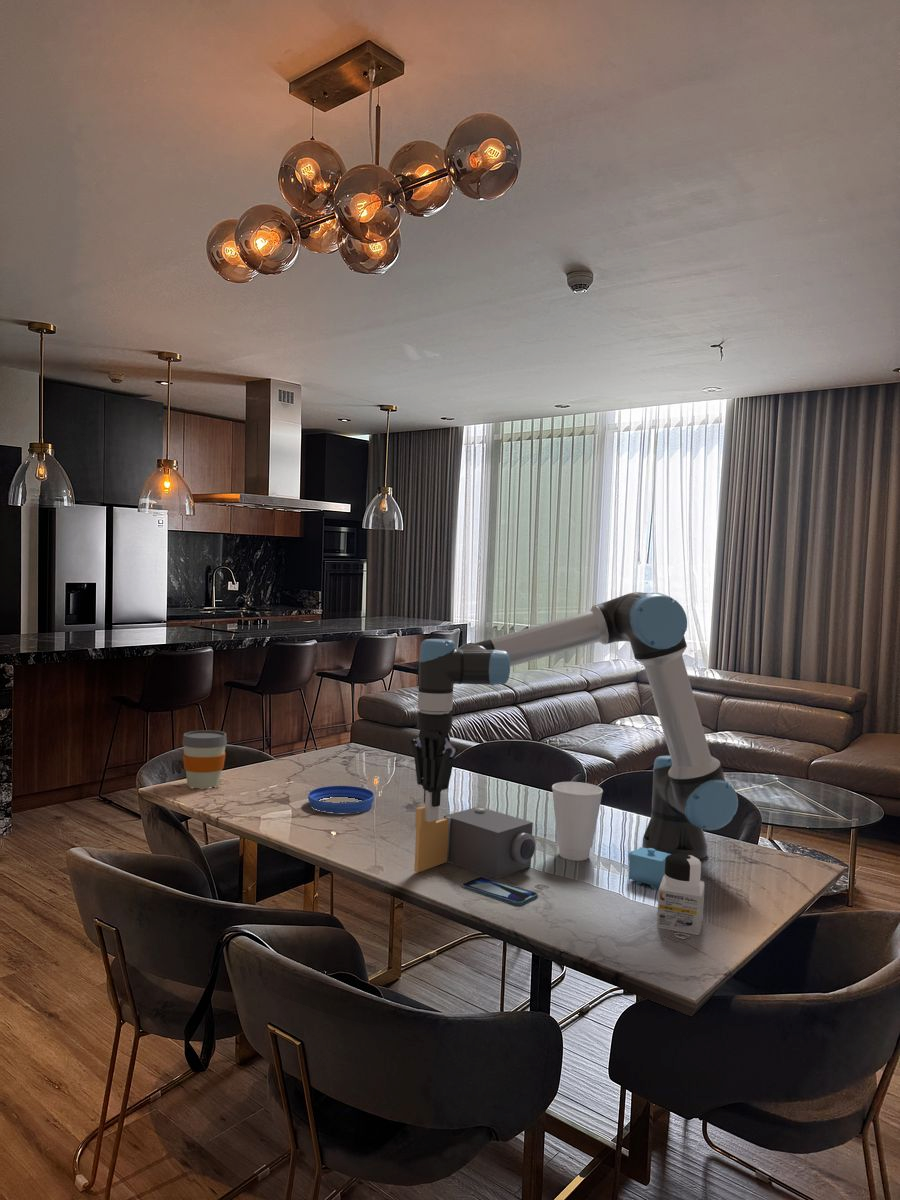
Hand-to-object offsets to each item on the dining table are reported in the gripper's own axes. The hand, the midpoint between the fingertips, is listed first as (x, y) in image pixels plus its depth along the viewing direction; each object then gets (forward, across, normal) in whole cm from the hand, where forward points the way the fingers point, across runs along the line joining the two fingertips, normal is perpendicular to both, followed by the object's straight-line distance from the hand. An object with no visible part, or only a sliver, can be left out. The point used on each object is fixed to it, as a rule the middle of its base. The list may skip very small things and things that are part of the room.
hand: (431, 820), depth 179 cm
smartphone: (+12, -16, -5) cm, 21 cm away
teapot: (+12, -34, -35) cm, 50 cm away
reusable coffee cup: (+11, +93, +6) cm, 94 cm away
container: (+12, -48, -21) cm, 54 cm away
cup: (+12, -11, -35) cm, 39 cm away
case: (+12, -4, -14) cm, 19 cm away
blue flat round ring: (+12, +53, -14) cm, 56 cm away
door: (+11, +2, -3) cm, 12 cm away
